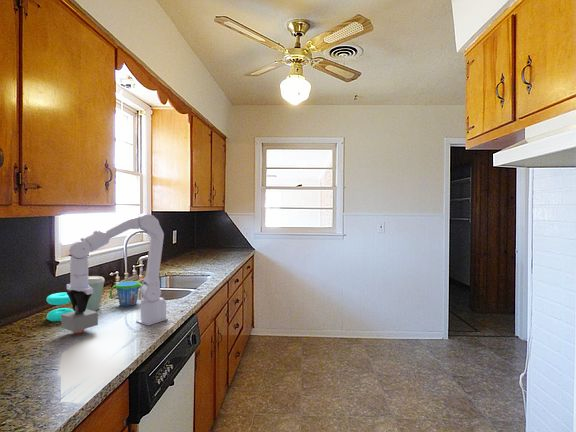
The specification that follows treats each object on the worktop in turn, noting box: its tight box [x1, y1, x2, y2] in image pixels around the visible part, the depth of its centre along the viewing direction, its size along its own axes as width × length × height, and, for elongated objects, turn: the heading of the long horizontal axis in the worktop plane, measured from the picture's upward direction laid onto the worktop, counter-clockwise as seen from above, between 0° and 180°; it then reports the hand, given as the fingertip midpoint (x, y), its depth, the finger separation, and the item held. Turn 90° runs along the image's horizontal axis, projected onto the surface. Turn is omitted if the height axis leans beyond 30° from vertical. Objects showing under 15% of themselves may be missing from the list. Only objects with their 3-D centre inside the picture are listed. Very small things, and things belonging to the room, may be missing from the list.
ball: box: [73, 329, 85, 334], centre depth 132 cm, size 4×4×4 cm
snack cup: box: [109, 280, 143, 307], centre depth 170 cm, size 16×10×10 cm
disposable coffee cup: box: [86, 275, 106, 312], centre depth 161 cm, size 11×11×15 cm
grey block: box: [60, 305, 99, 333], centre depth 131 cm, size 9×9×8 cm
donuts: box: [46, 291, 74, 322], centre depth 148 cm, size 10×10×10 cm
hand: (79, 311), depth 131 cm, fingers closed on grey block, 3 cm apart
